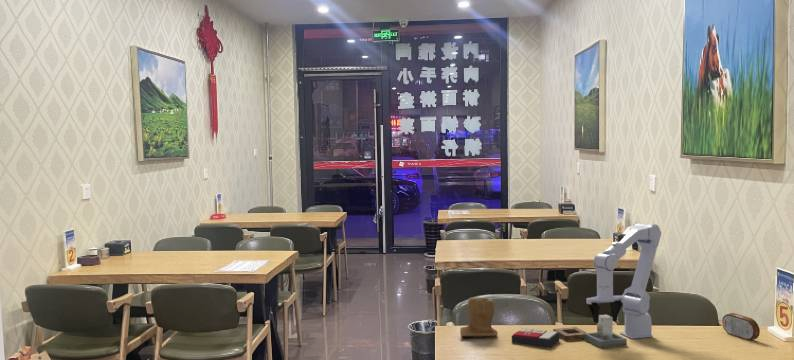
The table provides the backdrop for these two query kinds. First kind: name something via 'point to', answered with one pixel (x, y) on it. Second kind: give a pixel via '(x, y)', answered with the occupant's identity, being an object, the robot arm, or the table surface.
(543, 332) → the red black box
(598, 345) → the tray
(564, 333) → the brown square frame
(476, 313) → the brown wooden stand
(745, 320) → the oval speaker
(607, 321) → the lock pin
